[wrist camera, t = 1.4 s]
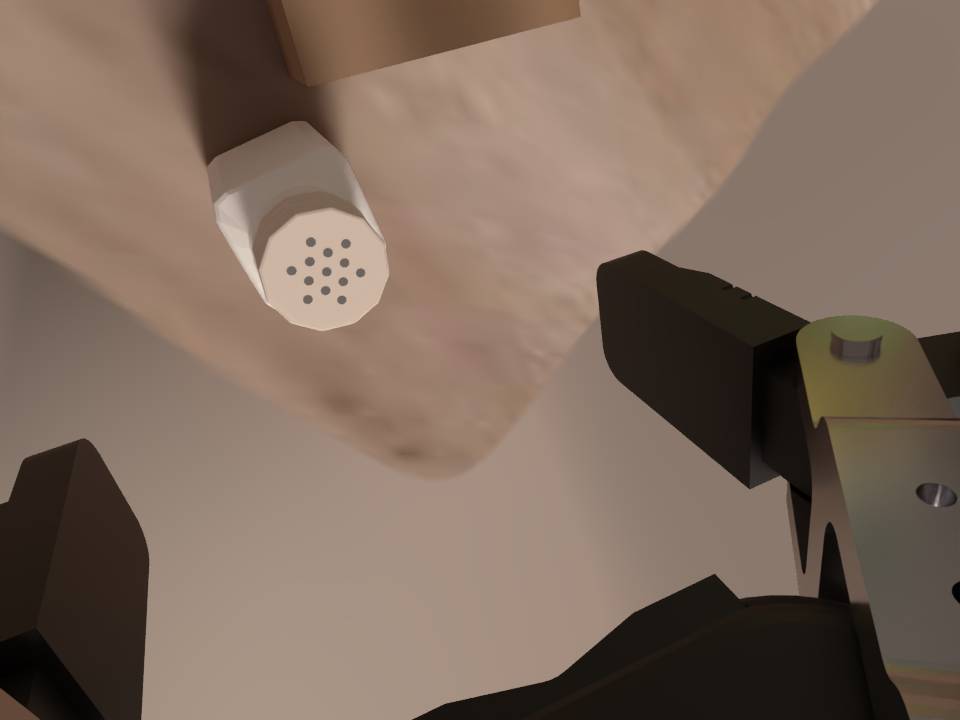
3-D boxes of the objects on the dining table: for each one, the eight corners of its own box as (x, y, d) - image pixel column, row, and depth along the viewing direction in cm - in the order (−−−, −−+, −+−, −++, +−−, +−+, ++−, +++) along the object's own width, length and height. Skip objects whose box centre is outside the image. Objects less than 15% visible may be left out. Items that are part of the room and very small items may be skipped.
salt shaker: (198, 160, 24) (206, 237, 16) (304, 111, 24) (364, 161, 16) (257, 261, 26) (291, 372, 18) (354, 213, 26) (429, 301, 18)
